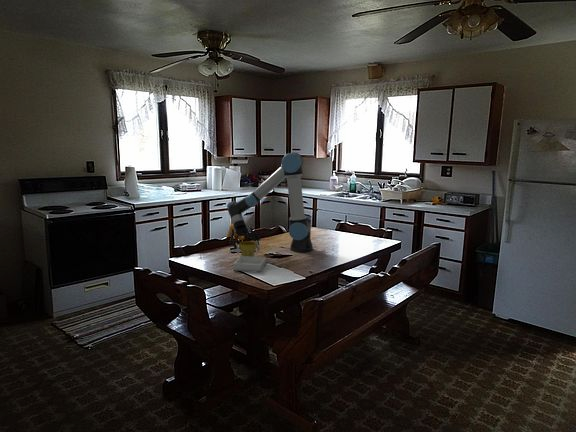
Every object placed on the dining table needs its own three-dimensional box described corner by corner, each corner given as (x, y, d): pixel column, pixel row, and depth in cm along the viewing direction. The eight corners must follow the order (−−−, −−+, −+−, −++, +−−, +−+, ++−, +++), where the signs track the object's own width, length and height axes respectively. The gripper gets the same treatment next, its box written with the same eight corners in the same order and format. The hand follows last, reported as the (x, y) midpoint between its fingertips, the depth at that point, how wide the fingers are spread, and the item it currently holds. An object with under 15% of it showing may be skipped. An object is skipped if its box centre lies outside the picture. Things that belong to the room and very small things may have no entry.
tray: (266, 264, 237) (266, 257, 236) (260, 272, 222) (260, 265, 221) (240, 262, 239) (240, 255, 239) (233, 270, 224) (233, 263, 223)
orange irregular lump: (232, 242, 287) (232, 226, 285) (226, 240, 292) (226, 224, 290) (244, 240, 293) (244, 224, 291) (239, 238, 299) (239, 222, 297)
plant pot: (249, 261, 241) (249, 245, 239) (235, 258, 246) (235, 243, 245) (259, 257, 250) (259, 242, 248) (246, 255, 255) (246, 240, 253)
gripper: (254, 224, 264) (265, 252, 254) (218, 228, 252) (228, 257, 242) (258, 218, 259) (269, 246, 249) (221, 221, 246) (231, 250, 236)
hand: (249, 251), depth 245 cm, fingers open, 13 cm apart
